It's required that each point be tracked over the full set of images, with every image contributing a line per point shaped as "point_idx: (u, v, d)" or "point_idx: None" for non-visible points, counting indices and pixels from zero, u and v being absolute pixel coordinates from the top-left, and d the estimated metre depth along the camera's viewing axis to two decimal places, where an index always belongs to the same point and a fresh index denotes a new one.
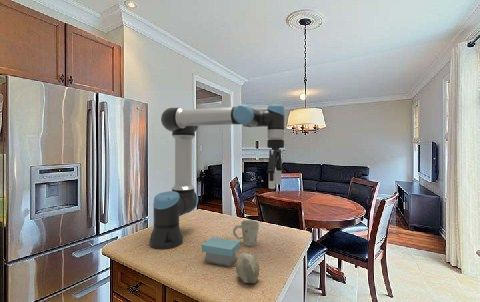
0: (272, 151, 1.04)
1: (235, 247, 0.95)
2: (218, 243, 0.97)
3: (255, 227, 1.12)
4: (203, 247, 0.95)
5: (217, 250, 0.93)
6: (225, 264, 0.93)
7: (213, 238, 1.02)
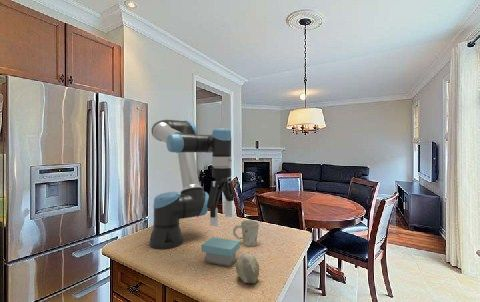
0: (214, 182, 0.91)
1: (235, 247, 0.95)
2: (218, 243, 0.97)
3: (255, 227, 1.12)
4: (203, 247, 0.95)
5: (217, 250, 0.93)
6: (225, 264, 0.93)
7: (213, 238, 1.02)
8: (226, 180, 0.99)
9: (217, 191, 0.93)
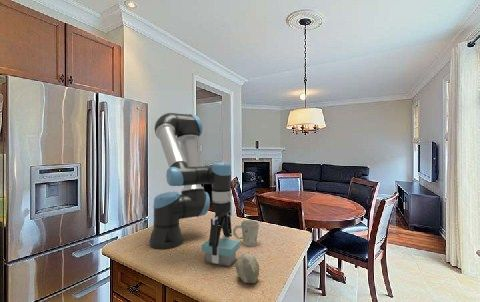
0: (213, 221, 0.91)
1: (235, 247, 0.95)
2: (218, 243, 0.97)
3: (255, 227, 1.12)
4: (203, 247, 0.95)
5: None
6: (225, 264, 0.93)
7: None
8: (226, 213, 0.99)
9: (217, 227, 0.94)
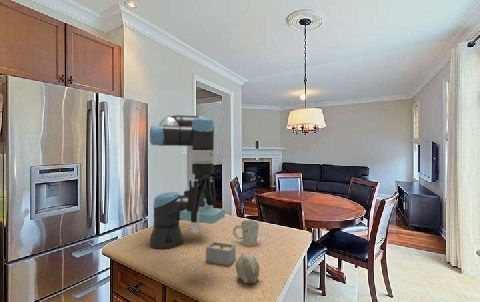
0: (192, 182, 0.79)
1: (218, 214, 0.83)
2: (199, 210, 0.85)
3: (255, 227, 1.12)
4: (182, 214, 0.83)
5: None
6: (225, 264, 0.93)
7: None
8: (208, 177, 0.87)
9: (198, 191, 0.82)
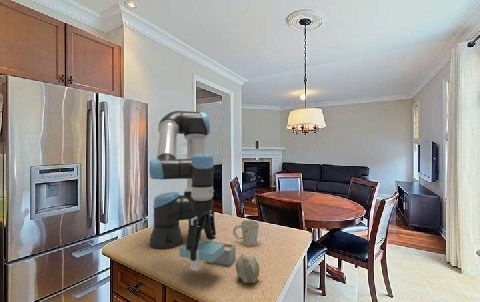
0: (192, 221, 0.79)
1: (218, 251, 0.83)
2: (199, 246, 0.85)
3: (255, 227, 1.12)
4: (181, 251, 0.83)
5: None
6: (225, 264, 0.93)
7: None
8: (208, 212, 0.87)
9: (197, 228, 0.82)
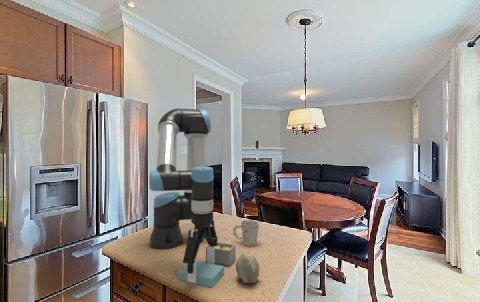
0: (192, 233, 0.79)
1: (218, 275, 0.83)
2: (199, 269, 0.85)
3: (255, 227, 1.12)
4: (181, 275, 0.83)
5: (196, 279, 0.81)
6: (225, 264, 0.93)
7: None
8: (208, 225, 0.87)
9: (196, 241, 0.81)
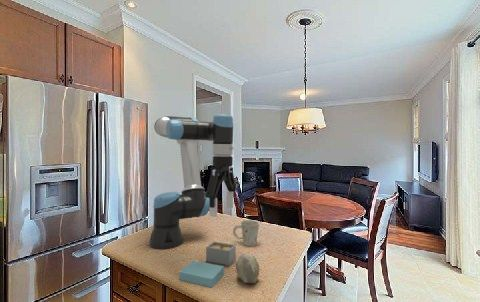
0: (213, 171, 0.86)
1: (218, 275, 0.83)
2: (199, 269, 0.85)
3: (255, 227, 1.12)
4: (181, 275, 0.83)
5: (196, 279, 0.81)
6: (225, 264, 0.93)
7: (194, 262, 0.90)
8: (227, 169, 0.94)
9: (217, 180, 0.89)
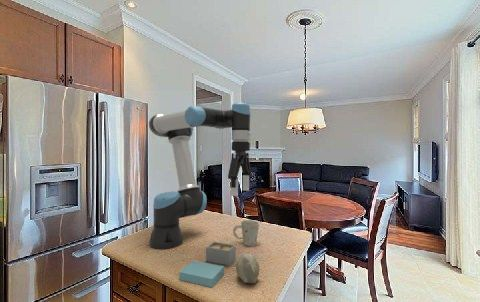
0: (234, 154, 0.94)
1: (218, 275, 0.83)
2: (199, 269, 0.85)
3: (255, 227, 1.12)
4: (181, 275, 0.83)
5: (196, 279, 0.81)
6: (225, 264, 0.93)
7: (194, 262, 0.90)
8: (245, 154, 1.02)
9: (237, 163, 0.96)
